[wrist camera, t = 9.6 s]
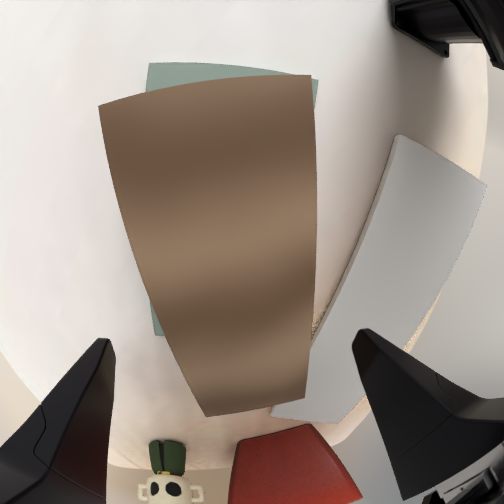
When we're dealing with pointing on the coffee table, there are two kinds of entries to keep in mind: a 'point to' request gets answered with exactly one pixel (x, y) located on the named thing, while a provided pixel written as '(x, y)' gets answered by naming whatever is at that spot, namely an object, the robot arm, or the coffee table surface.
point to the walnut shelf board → (224, 229)
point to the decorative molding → (389, 272)
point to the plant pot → (290, 471)
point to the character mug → (169, 477)
